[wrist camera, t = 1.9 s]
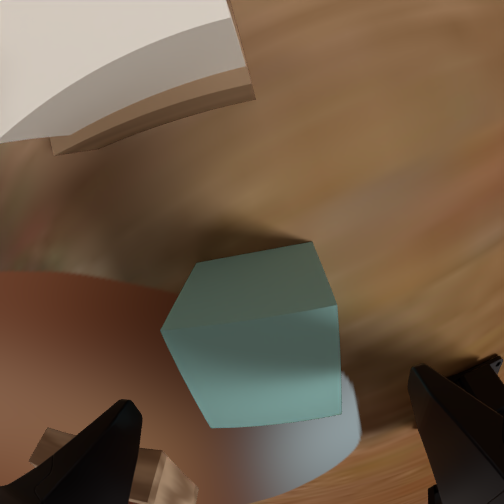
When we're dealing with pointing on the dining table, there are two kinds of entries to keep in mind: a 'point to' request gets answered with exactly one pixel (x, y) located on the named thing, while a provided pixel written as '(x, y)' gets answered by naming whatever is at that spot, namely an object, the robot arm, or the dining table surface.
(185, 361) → the teal cube
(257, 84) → the dining table surface
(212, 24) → the cream block
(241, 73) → the walnut block
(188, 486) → the bracket cradle
